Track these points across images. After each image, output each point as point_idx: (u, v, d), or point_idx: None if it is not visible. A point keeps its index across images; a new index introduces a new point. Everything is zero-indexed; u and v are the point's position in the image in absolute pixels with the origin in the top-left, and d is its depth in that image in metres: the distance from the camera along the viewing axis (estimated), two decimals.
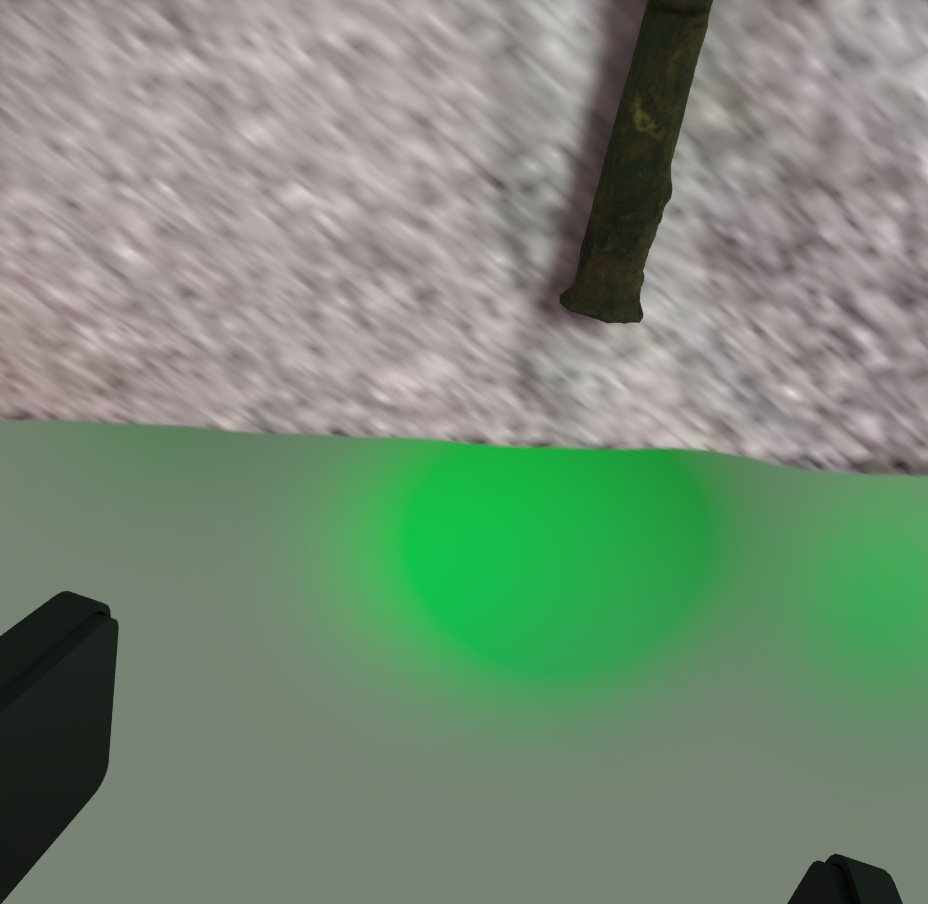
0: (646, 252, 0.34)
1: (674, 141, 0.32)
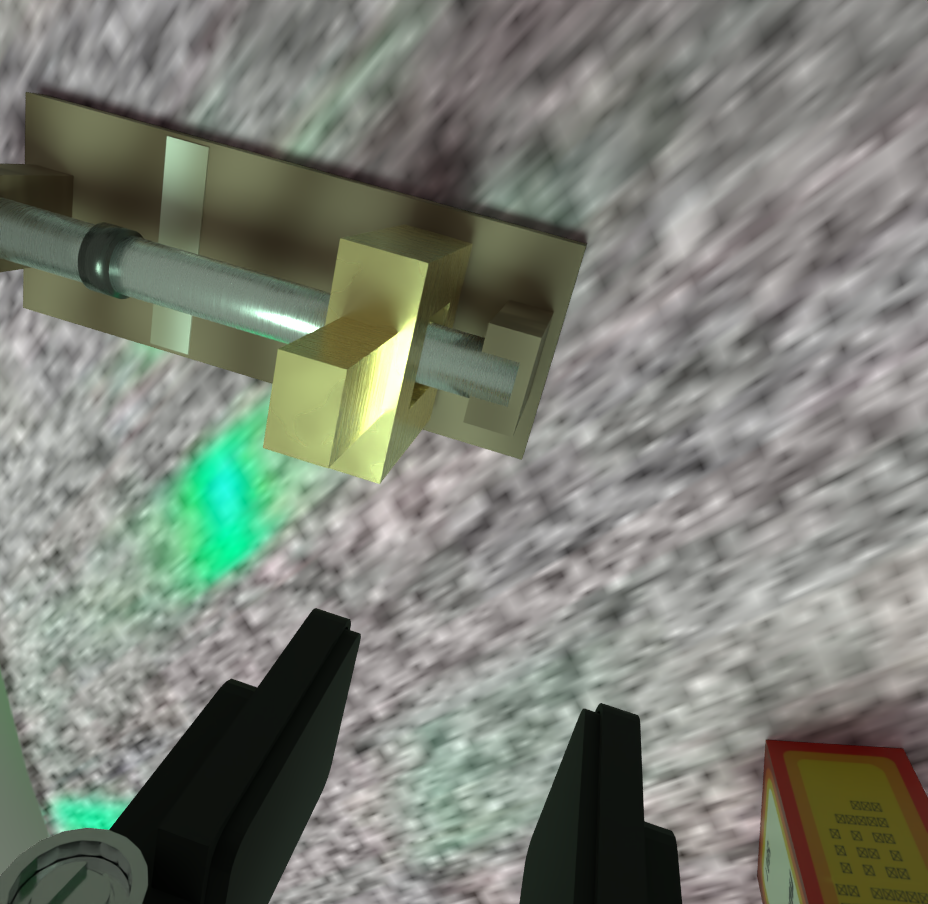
0: None
1: None
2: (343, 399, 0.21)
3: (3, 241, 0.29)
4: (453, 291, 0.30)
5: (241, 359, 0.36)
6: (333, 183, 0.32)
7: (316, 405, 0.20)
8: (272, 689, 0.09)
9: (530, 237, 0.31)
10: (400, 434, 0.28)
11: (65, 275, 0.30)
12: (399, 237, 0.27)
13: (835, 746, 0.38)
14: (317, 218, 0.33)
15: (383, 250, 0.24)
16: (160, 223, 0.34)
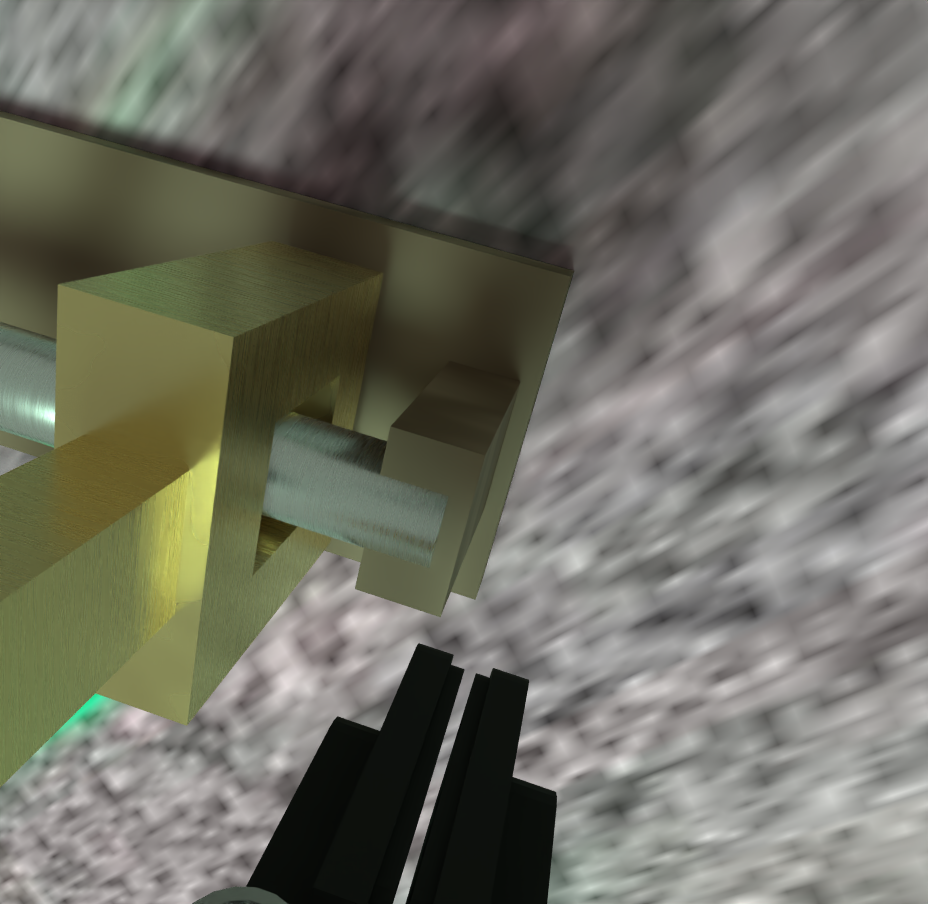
0: None
1: None
2: None
3: None
4: (344, 356, 0.17)
5: None
6: (164, 173, 0.20)
7: None
8: (394, 732, 0.08)
9: (481, 262, 0.19)
10: (237, 620, 0.16)
11: None
12: (228, 270, 0.15)
13: None
14: (145, 229, 0.20)
15: (144, 309, 0.12)
16: None
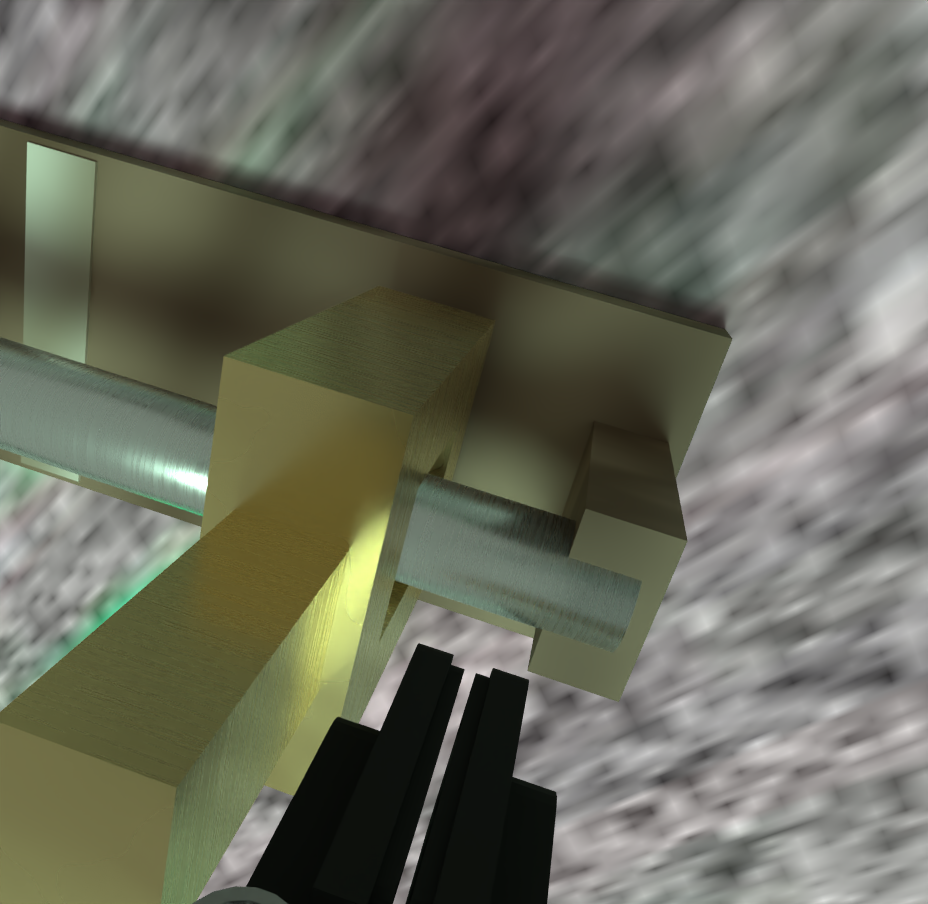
0: None
1: None
2: (181, 834, 0.08)
3: None
4: (462, 409, 0.17)
5: None
6: (302, 224, 0.19)
7: (107, 854, 0.08)
8: (395, 732, 0.08)
9: (636, 322, 0.18)
10: (363, 689, 0.15)
11: None
12: (362, 327, 0.14)
13: None
14: (276, 280, 0.20)
15: (316, 384, 0.11)
16: (25, 281, 0.21)
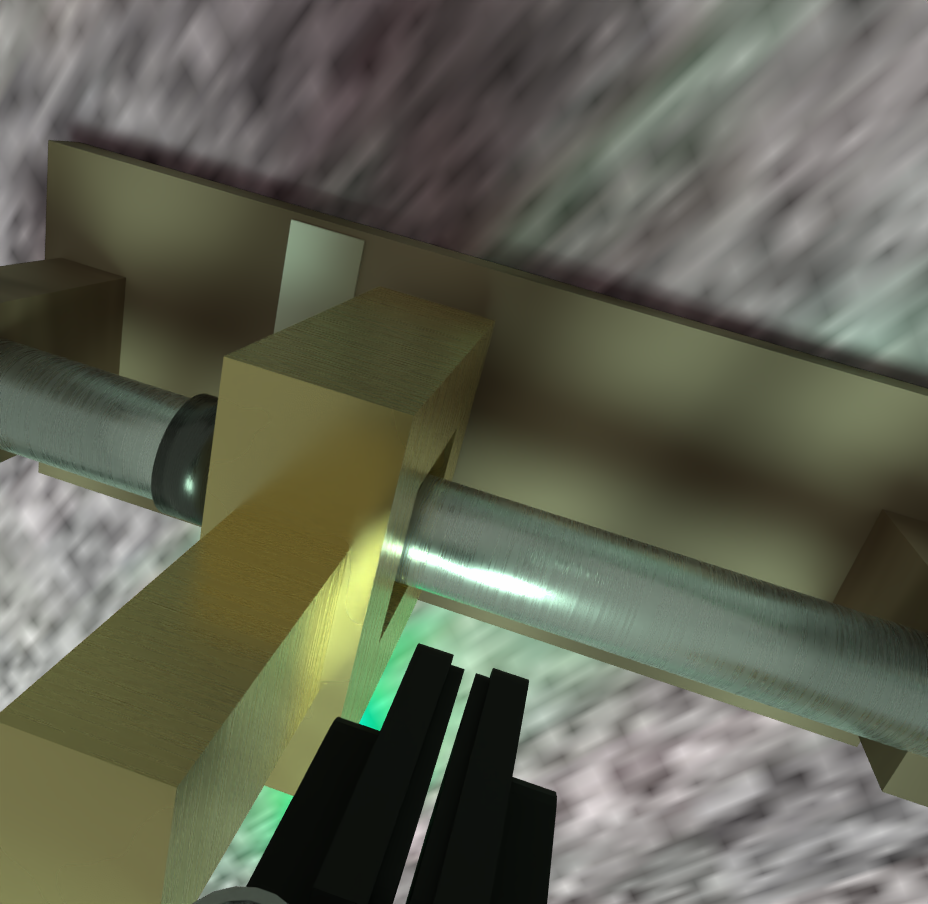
0: None
1: None
2: (180, 834, 0.08)
3: (10, 432, 0.16)
4: (462, 410, 0.17)
5: None
6: (583, 307, 0.18)
7: (107, 853, 0.08)
8: (394, 732, 0.08)
9: None
10: (363, 690, 0.15)
11: None
12: (362, 327, 0.14)
13: None
14: (548, 363, 0.19)
15: (316, 384, 0.11)
16: None
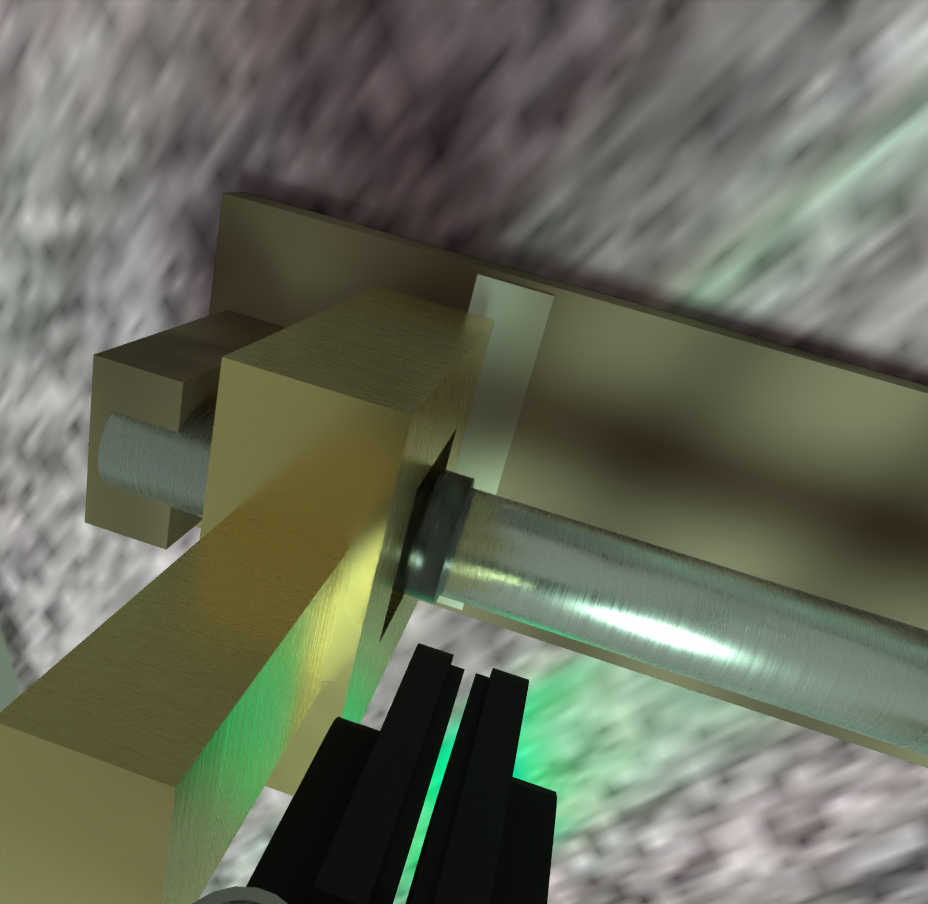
0: None
1: None
2: (180, 835, 0.08)
3: None
4: (461, 410, 0.17)
5: None
6: (783, 364, 0.18)
7: (107, 853, 0.08)
8: (394, 733, 0.08)
9: None
10: (363, 690, 0.15)
11: None
12: (361, 327, 0.14)
13: None
14: (740, 419, 0.19)
15: (314, 384, 0.11)
16: None
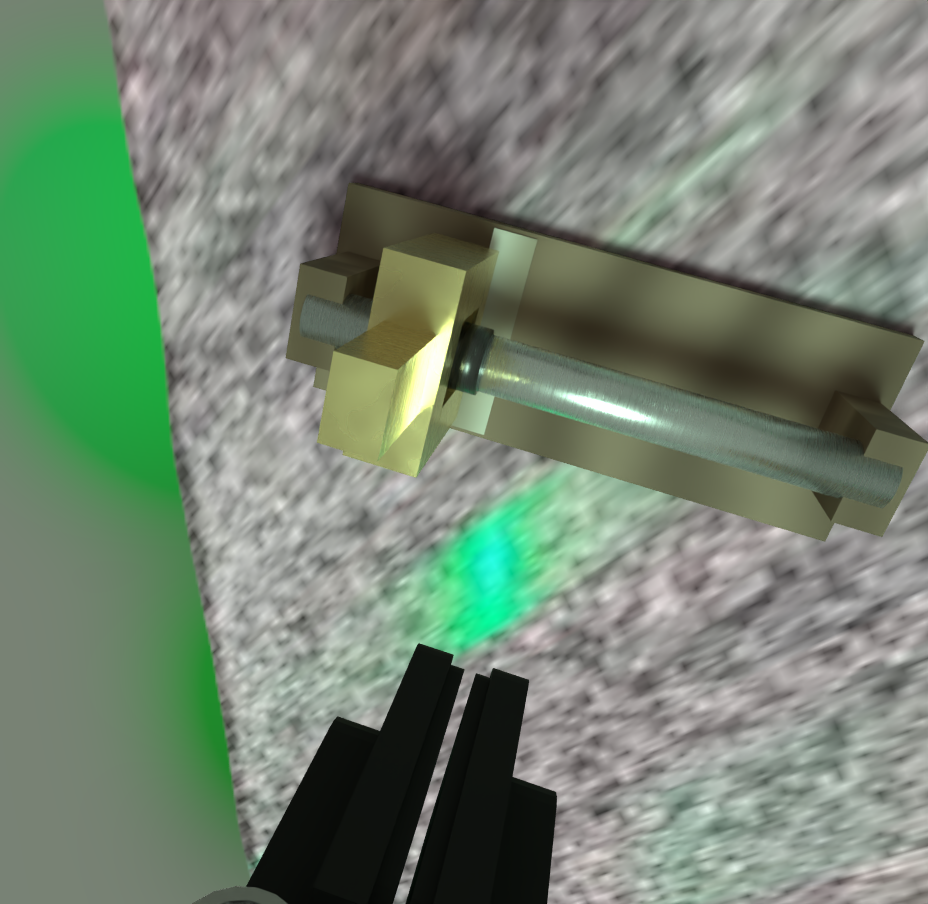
0: None
1: None
2: (393, 397, 0.22)
3: None
4: (482, 296, 0.31)
5: (539, 440, 0.36)
6: (664, 276, 0.32)
7: (368, 402, 0.22)
8: (394, 732, 0.08)
9: (867, 332, 0.32)
10: (434, 431, 0.29)
11: None
12: (433, 246, 0.29)
13: None
14: (642, 308, 0.33)
15: (423, 259, 0.25)
16: None
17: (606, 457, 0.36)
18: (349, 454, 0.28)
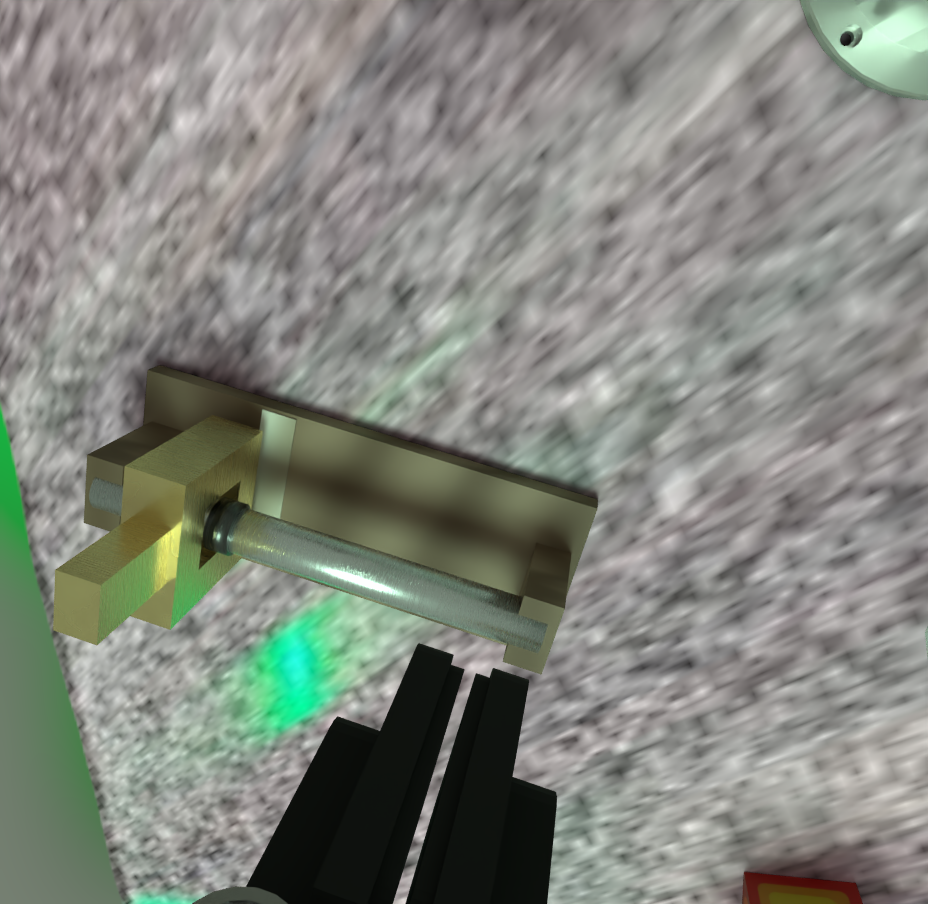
0: None
1: None
2: (103, 601, 0.30)
3: None
4: (242, 472, 0.39)
5: None
6: (396, 451, 0.40)
7: (84, 605, 0.30)
8: (394, 732, 0.08)
9: (553, 499, 0.39)
10: (192, 588, 0.37)
11: None
12: (188, 444, 0.37)
13: (800, 879, 0.46)
14: (382, 475, 0.41)
15: (155, 475, 0.33)
16: None
17: None
18: None
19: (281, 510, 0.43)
